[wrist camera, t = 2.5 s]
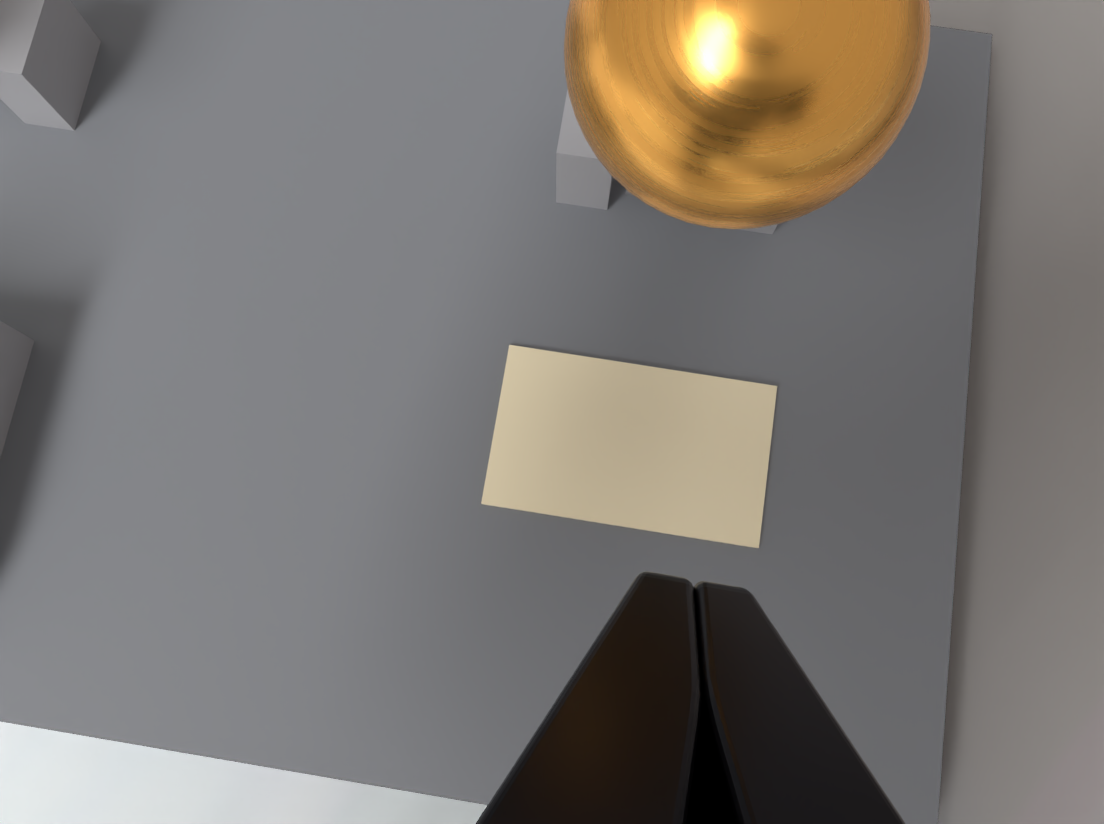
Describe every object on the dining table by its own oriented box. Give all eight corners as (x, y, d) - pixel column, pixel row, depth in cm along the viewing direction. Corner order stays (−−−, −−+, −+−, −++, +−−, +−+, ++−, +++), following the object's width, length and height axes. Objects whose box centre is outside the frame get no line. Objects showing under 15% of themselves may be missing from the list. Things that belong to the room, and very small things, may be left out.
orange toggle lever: (744, 255, 19) (938, 252, 8) (576, 231, 19) (524, 191, 8) (775, 81, 18) (1032, -200, 7) (603, 56, 18) (587, -259, 7)
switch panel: (902, 861, 18) (985, 913, 14) (-480, 624, 19) (-709, 621, 15) (962, 75, 21) (1040, -32, 18) (-204, -90, 22) (-341, -222, 19)
